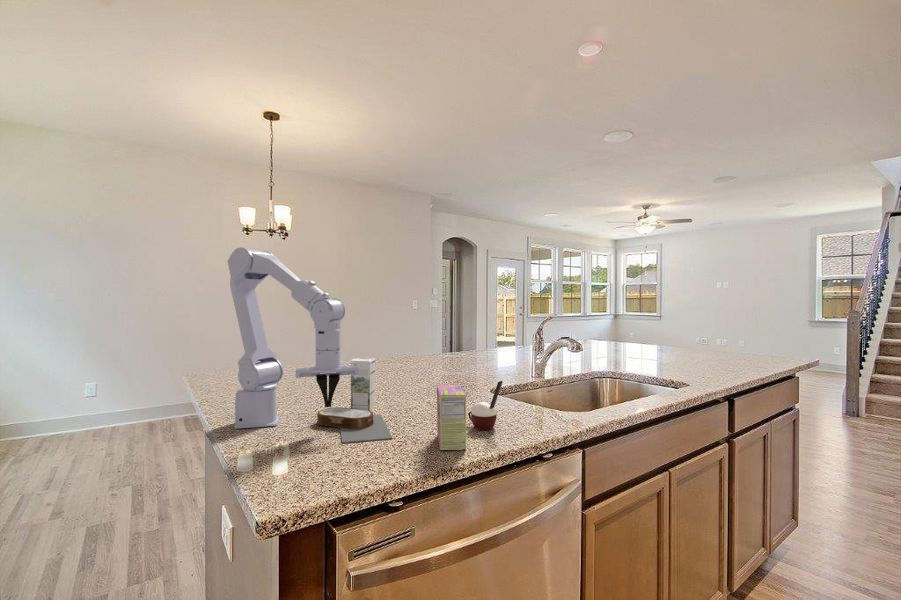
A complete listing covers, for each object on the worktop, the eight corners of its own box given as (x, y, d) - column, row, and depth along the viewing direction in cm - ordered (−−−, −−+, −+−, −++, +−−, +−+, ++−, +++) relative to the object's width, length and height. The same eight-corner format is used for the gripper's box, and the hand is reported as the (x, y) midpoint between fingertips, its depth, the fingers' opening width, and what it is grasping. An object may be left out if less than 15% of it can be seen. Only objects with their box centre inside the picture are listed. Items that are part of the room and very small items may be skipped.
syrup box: (375, 406, 126) (375, 357, 126) (369, 412, 120) (370, 360, 120) (356, 406, 127) (356, 356, 126) (349, 411, 121) (350, 359, 121)
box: (436, 435, 100) (436, 384, 100) (461, 435, 101) (461, 384, 101) (439, 451, 90) (439, 395, 90) (466, 451, 90) (466, 394, 90)
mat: (342, 443, 95) (342, 442, 95) (338, 418, 114) (338, 417, 114) (392, 438, 98) (392, 437, 98) (380, 415, 117) (380, 414, 117)
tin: (362, 430, 103) (379, 423, 111) (363, 416, 103) (380, 410, 111) (309, 424, 107) (329, 417, 115) (310, 411, 108) (329, 405, 116)
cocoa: (464, 426, 109) (462, 379, 109) (485, 422, 112) (483, 376, 112) (485, 435, 100) (483, 384, 100) (507, 430, 103) (505, 380, 103)
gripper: (294, 352, 97) (294, 412, 97) (360, 350, 101) (360, 408, 101) (296, 348, 104) (296, 405, 104) (358, 346, 108) (357, 401, 108)
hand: (327, 406), depth 103 cm, fingers closed
